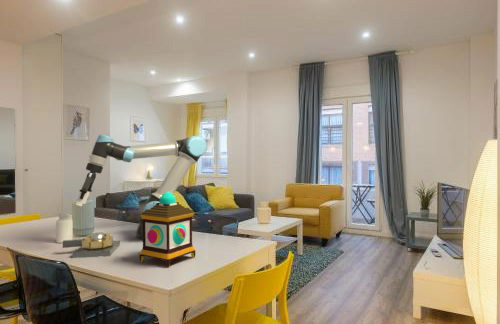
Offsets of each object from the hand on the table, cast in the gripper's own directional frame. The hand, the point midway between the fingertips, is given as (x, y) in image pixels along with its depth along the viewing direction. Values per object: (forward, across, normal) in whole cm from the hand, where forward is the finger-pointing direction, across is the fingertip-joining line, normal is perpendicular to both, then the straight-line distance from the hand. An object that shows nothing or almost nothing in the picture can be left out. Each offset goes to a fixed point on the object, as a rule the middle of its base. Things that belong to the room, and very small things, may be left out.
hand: (80, 204), depth 169 cm
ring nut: (+17, +8, +10) cm, 21 cm away
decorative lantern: (+9, +34, +45) cm, 57 cm away
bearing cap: (+18, +8, +15) cm, 25 cm away
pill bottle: (+24, -20, -3) cm, 31 cm away
